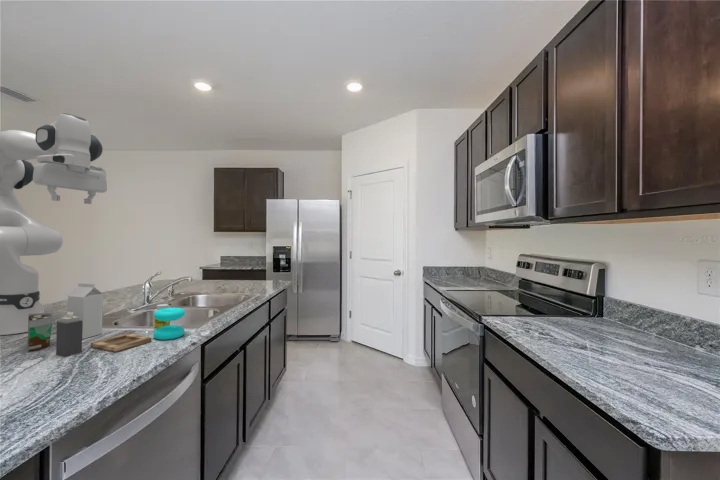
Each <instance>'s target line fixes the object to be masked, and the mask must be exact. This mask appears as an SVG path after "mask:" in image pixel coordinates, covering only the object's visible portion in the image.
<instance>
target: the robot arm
mask: <svg viewBox="0 0 720 480" xmlns="http://www.w3.org/2000/svg"><path fill="white" fill-rule="evenodd" d="M91 132H92V131H91V127H90V123H89V121H88V120H87V119H86V118H83V117H81V116H78V115H74V114H70V113H65V112H64V113H59V115H58V117H57V119H56V120H55V121H54V122H52V123H50V124H44V125H41V126H39V127H38V128H37V129H36V131H35V133H33V132H30V131H25V130H18V129H8V130H3V131H0V336H4V335H5V336H6V335H16V334H21V333H22V334H23V333H28V314H37V313H44V312H45V311H44V305H43V304H42V303H40V297H41V294H40V293H41V292H40V291H39V272H38V270H37V269H36V268H34V267H32V266H29V265H28V264H27V265H26V264H23V262H22V260H21V257H23V256H24V257H25V256H43V255H44V256H45V255H49V254H53V253H57V252H58V251H59V250H60V249H61V248H62V246H63V236H62V235H61V234H60V233H59V231H57V230H55V229H53V228H50V227H47V226H46V225H43V224H42V223H40V222H38V221H36V220H35V219H34V218H32V217H31V216H30V215H28V214H27V212H26V211H25V210H24V208H23V206H22V204H21V202H19V199H18V198H17V197H16V195H15V193H14V189H15V190H22V189H23V188H24V187H25V186H28V185H29V184H30V183H32V182H33V183H34V184H35V185H38V186H46V187H47V189H46V190H47V191H48V193H49V194H50V195H51V201H55V202H60V201H61V195H58V194H57V192H56V190H57V188H60V189H69V190H76V191H83V192H87V195H88V196H87V197H86V198H83V201H84V202H83V204H85V205H92V201H93V199H94V197H95V196H96V195H97V193H99V194H103V193H106V192H107V190H108V184H107V183H108V182H107V172H106V170H105V169H103V168H102V167H99V166H93V165H91V162H94V161H96V160H97V159H99V158H100V157H101V155H102V154H103V149H104V148H103V145H102V143H101V141H100V140H99V139H98V138H97V136H95V135H93V134H91ZM28 160H36V162H38V163H36V164H35V166H33V164H32V162H29V161H28Z"/></svg>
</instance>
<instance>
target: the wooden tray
mask: <svg viewBox="0 0 720 480" xmlns="http://www.w3.org/2000/svg"><path fill="white" fill-rule="evenodd" d="M149 343H152V337H150V336H146V335H145V336H144V335H138V334H133V333H128V332H127V333H123V334H119V335H116V336H112V337H107V338H105V339H101V340H97V341H93V342H90V348H91V347H92V349H96V350H101V351H104V352H109V353H116V354H117V353H119V352H122V351H127V350H130V349H133V348H137V347H139V346H143V345H146V344H149Z"/></svg>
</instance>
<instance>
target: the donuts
mask: <svg viewBox="0 0 720 480" xmlns="http://www.w3.org/2000/svg"><path fill="white" fill-rule="evenodd" d="M156 310H157V309H156ZM156 310H155V311H156ZM155 311H154V312H153V317H154V318H155V319H157V320H159V321H170V322H172V321H174V322H175V321H177V320H180V319H182V318H184V316H185V314H186V310H185V309H184V308H181V307H168V308H164V309H160V310H157V311H156V312H155ZM184 334H185V329H184V328H183V326H181V325H178V324H177V325H176V324H170V325H168V326H163V327H160V328H158V329H156V330H155V329H154V332H153V334H152V335H153V338H155V339H157V340H161V341H163V340H164V341H166V340H168V341H169V340H175V339H178V338H180V337H182V336H183V335H184Z"/></svg>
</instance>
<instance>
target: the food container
mask: <svg viewBox="0 0 720 480" xmlns="http://www.w3.org/2000/svg"><path fill="white" fill-rule="evenodd" d="M55 322H56V319H55V316H54V314H53V313H46V312H45V313H37V314H28V332H27V351H28V353H31V352H36V351H40V350H44V349H46V348H48V347H50V344H51V336H52V329H53V328H52V327H53V323H55Z"/></svg>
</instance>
